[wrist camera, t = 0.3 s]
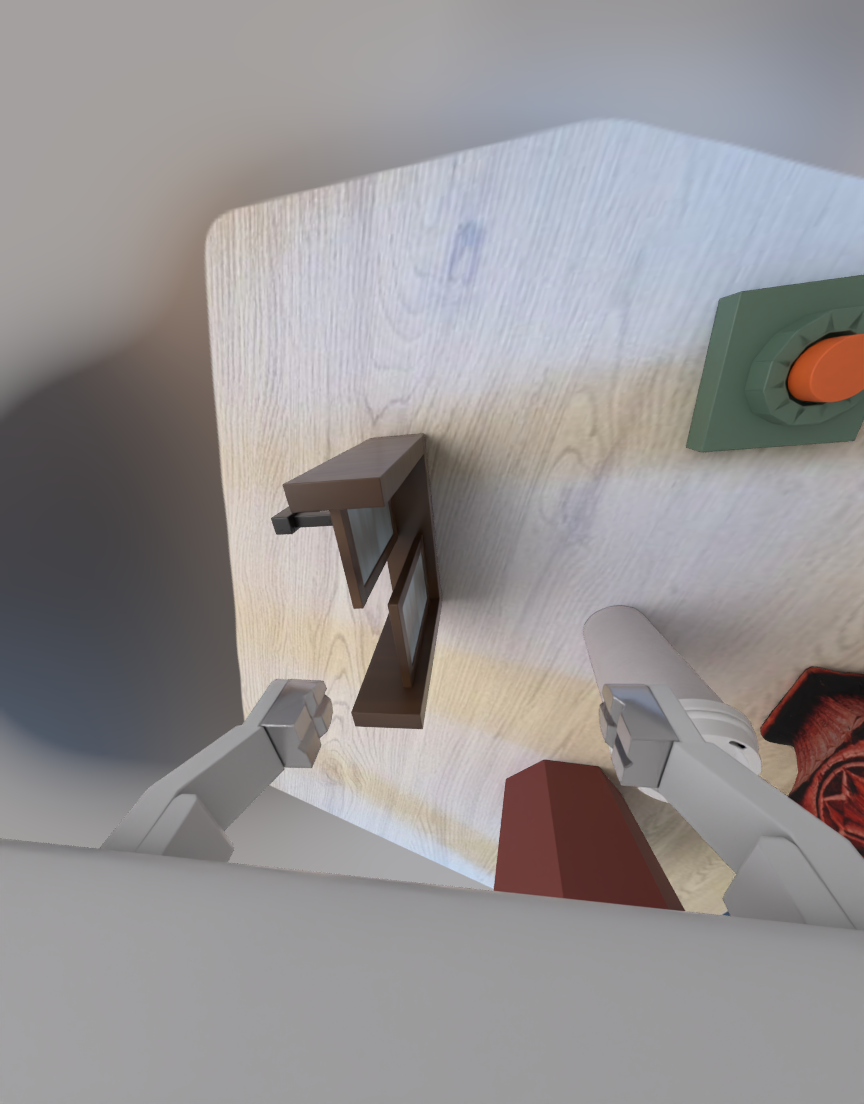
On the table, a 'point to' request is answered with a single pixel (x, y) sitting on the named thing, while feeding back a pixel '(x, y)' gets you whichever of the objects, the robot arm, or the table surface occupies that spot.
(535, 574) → the table surface
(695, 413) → the button block
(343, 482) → the window frame
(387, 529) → the sliding window sash
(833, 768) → the vase
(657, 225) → the table surface
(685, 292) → the table surface
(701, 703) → the coffee cup
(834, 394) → the button
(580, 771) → the bucket
